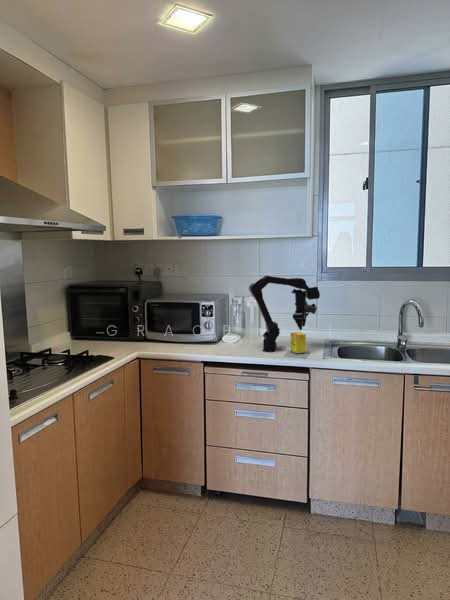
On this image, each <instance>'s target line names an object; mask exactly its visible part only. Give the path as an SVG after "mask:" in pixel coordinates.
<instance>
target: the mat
mask: <svg viewBox="0 0 450 600" xmlns="http://www.w3.org/2000/svg"><path fill="white" fill-rule="evenodd" d="M290 351H291V350H288V351H286V352H285V354H284V355H283V356H284V358H285V357H286V358H297V359H307V358H308V357H309V355H310V352H306V351H305V354H298V355H296V354H294V353H292V352H290Z"/></svg>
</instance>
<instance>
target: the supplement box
mask: <svg viewBox="0 0 450 600" xmlns="http://www.w3.org/2000/svg"><path fill="white" fill-rule="evenodd" d="M306 336H307V335H306V333H303V332H300V331H295V332H294V331H293V332H290V350H289V351H290V352H292V353H294V354H296V355H298V354H305V352H306V339H307V337H306Z"/></svg>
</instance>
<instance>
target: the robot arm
mask: <svg viewBox="0 0 450 600" xmlns="http://www.w3.org/2000/svg"><path fill="white" fill-rule="evenodd" d="M269 284H273V285H274V284H275V285H283V286H290V287H291V288H292V287H294V288H293V290H291V294H294V296H295V297H294V298H295V302H294V306H295V312H294V313H293V314H292V319H293V320H294V322H295V323H296V325H297V327H298V329H299V330H300V331H302V330H303V327H305V326H306V322H307V317H308V316H309V314H310V313H311V314H312V315H313V314H314V315H315V314H316V312H317V309H318V306H316V303H312V304H309V303H308V301H307V300H310V301H311V300H319V299H320V296H321V294H320V291H319V287H318V286H313V287H310V286H309V285H307V281H306V279H304V278H301V277H290V278H285V277H279V276H271V275H264V276H263V277H262V278H260V279H259V280H257V281H256V282H254V283H251V284H249V286H248V290H249V293H250V294H251V295H252V297H253V298H254V300H255V301H256V304H257V307H258V309H259V311H260V313H261V316H262V318H263V321H264V323H265V329H266V331H265V332H264V333H263V334H262V337H263V344H262V345H263V349H262V352H269V353H275V352H276V351H277V347H278V345H277V343H278V342H277V341H276V340H277V338H278V337H279V336H280V334H281V332H280V331H281V329H280V328H279V324H278V323H277V322H276V321H273V319H272V317H271V314H270V312H269V310H268V306H267V305H266V302H265V300H264V296H263V295H264V294H263V291H262V290H263V289H264V288H265V287H267V285H269ZM295 288H296V289H295Z"/></svg>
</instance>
